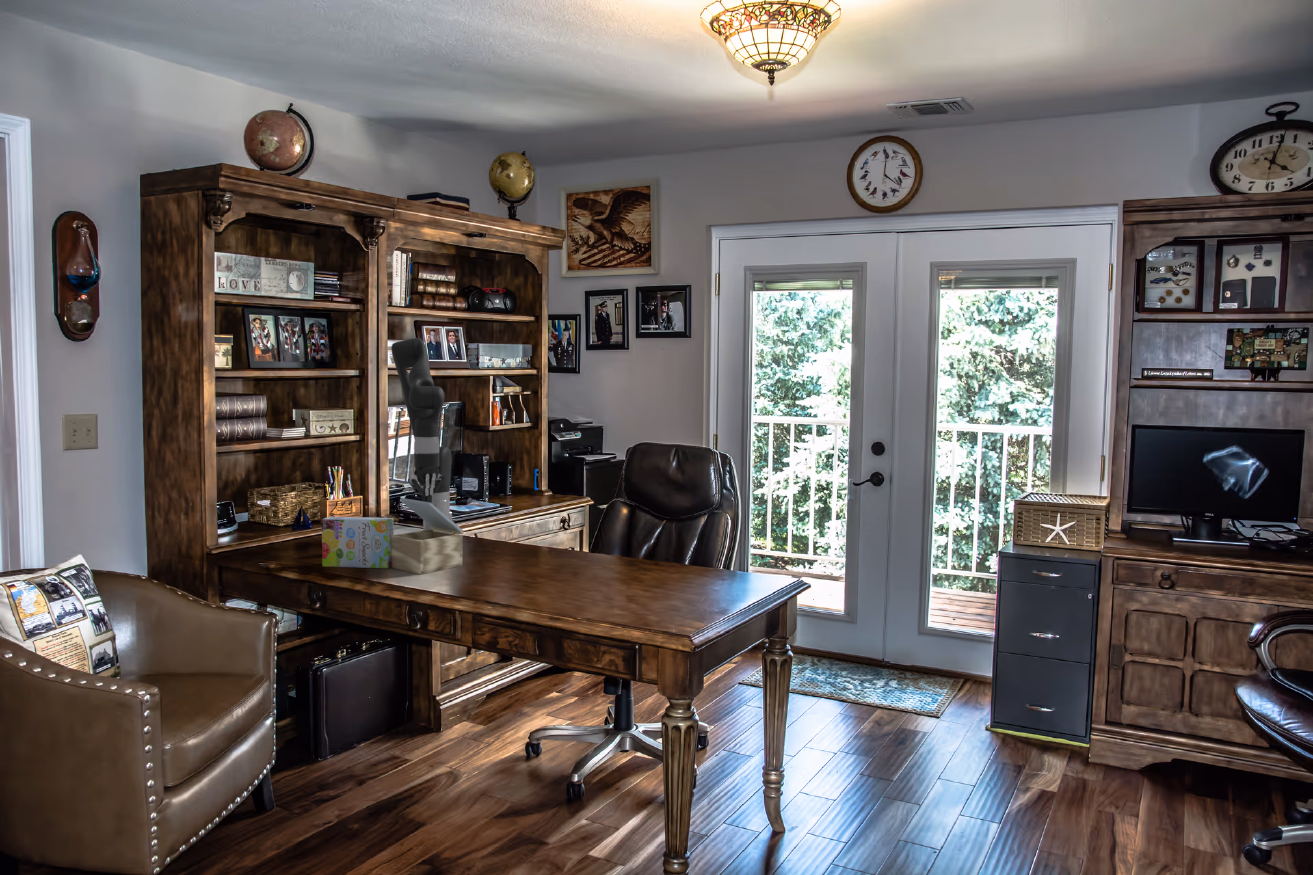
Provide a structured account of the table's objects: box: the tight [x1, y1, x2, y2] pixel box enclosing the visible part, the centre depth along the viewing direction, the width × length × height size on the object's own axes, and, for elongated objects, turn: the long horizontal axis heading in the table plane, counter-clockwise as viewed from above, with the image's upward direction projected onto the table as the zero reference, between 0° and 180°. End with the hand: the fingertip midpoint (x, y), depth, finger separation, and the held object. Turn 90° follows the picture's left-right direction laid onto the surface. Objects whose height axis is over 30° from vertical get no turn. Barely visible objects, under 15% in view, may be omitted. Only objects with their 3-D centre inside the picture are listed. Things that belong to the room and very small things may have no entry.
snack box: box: [321, 516, 395, 569], centre depth 289 cm, size 21×6×15 cm, turn 84°
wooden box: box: [391, 529, 464, 575], centre depth 289 cm, size 16×14×10 cm
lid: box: [400, 497, 464, 536], centre depth 290 cm, size 17×14×1 cm
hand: (426, 507), depth 288 cm, fingers closed
